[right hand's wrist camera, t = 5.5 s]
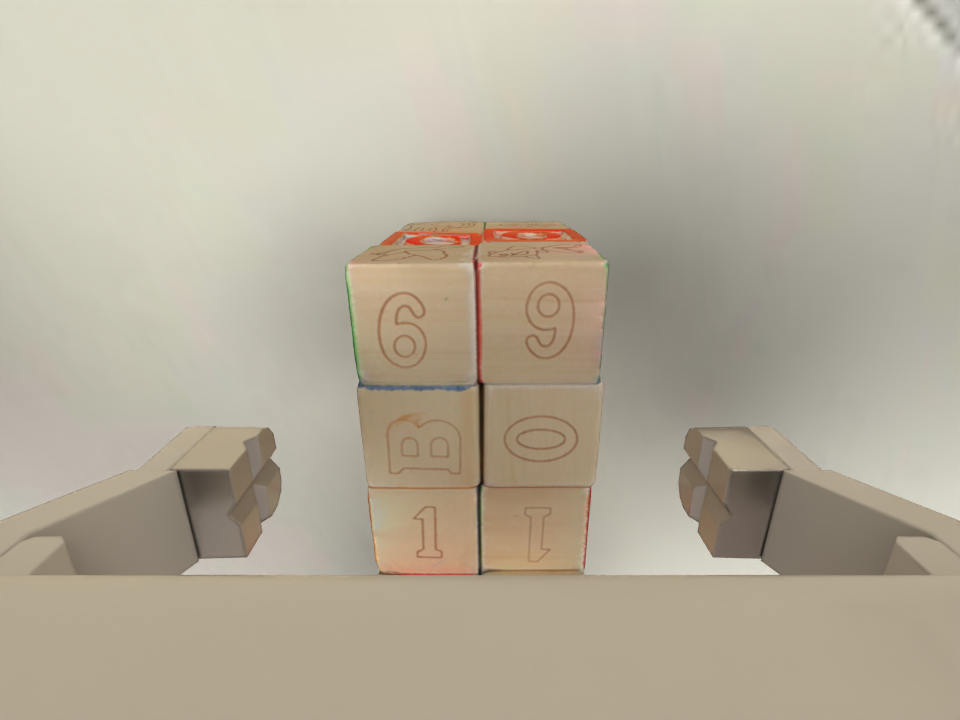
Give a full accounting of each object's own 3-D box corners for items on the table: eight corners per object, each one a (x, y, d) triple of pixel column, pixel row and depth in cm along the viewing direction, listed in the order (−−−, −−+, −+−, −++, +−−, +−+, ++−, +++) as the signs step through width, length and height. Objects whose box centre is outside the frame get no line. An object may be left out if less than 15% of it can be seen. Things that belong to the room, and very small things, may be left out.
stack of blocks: (404, 219, 20) (295, 285, 9) (562, 218, 20) (665, 285, 9) (426, 624, 28) (384, 949, 16) (541, 625, 28) (581, 952, 16)
